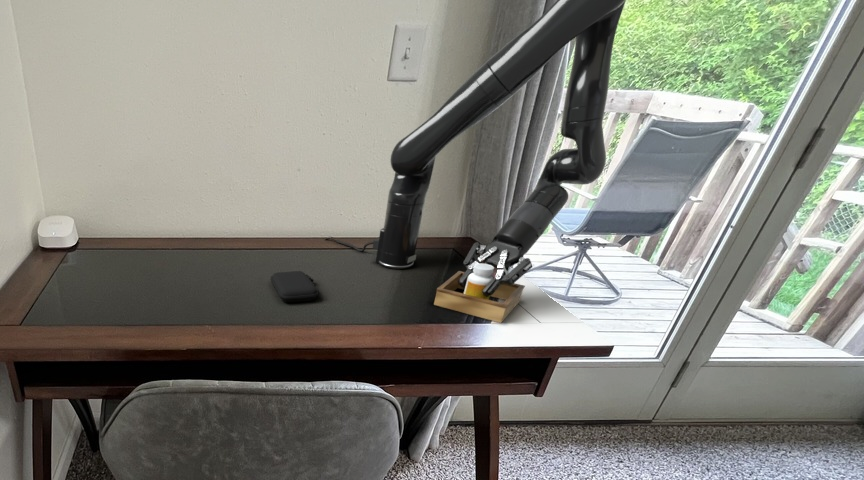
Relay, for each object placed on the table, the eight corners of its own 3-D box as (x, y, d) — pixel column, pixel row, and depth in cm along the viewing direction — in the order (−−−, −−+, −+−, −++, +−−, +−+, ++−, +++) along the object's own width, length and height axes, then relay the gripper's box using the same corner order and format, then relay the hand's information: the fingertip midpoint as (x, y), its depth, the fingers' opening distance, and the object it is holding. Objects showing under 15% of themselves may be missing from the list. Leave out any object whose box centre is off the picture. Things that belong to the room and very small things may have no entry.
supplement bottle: (489, 312, 107) (501, 271, 102) (463, 310, 108) (474, 270, 103) (483, 301, 111) (494, 262, 106) (458, 300, 112) (468, 261, 107)
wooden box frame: (433, 304, 111) (436, 288, 109) (455, 286, 119) (459, 270, 117) (501, 323, 102) (506, 306, 100) (519, 301, 111) (525, 285, 109)
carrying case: (324, 301, 114) (308, 278, 127) (325, 290, 113) (308, 267, 125) (281, 305, 113) (268, 281, 126) (281, 293, 112) (269, 270, 124)
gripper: (489, 211, 108) (441, 271, 110) (552, 226, 97) (496, 293, 99) (498, 230, 113) (452, 287, 114) (559, 247, 102) (506, 310, 104)
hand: (473, 289), depth 107 cm, fingers closed on supplement bottle, 5 cm apart
